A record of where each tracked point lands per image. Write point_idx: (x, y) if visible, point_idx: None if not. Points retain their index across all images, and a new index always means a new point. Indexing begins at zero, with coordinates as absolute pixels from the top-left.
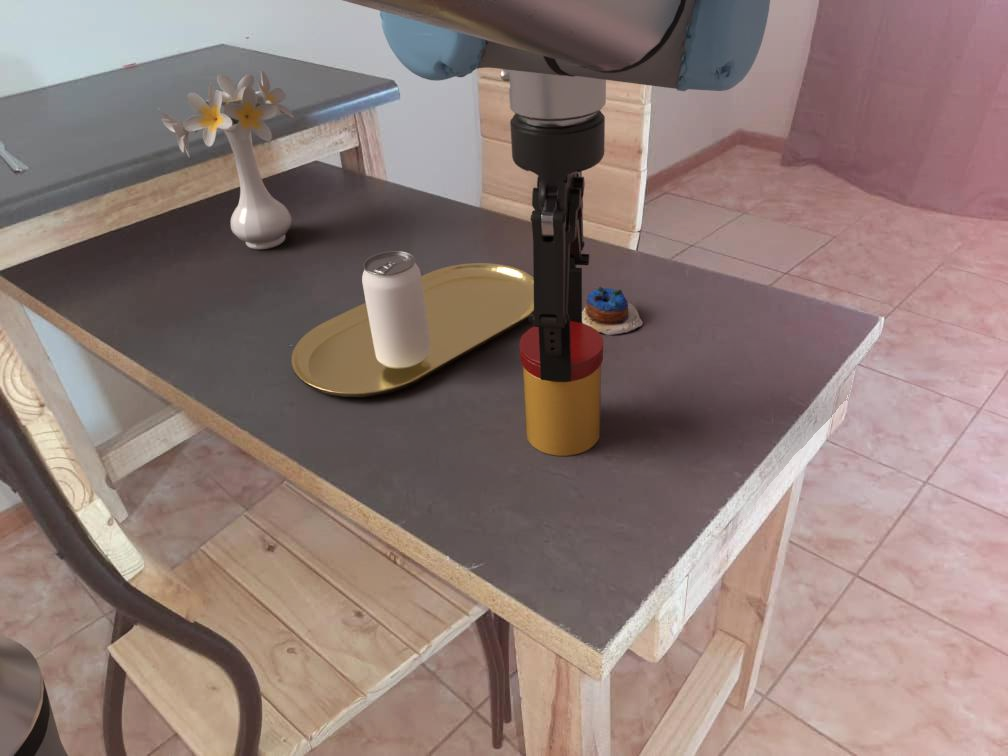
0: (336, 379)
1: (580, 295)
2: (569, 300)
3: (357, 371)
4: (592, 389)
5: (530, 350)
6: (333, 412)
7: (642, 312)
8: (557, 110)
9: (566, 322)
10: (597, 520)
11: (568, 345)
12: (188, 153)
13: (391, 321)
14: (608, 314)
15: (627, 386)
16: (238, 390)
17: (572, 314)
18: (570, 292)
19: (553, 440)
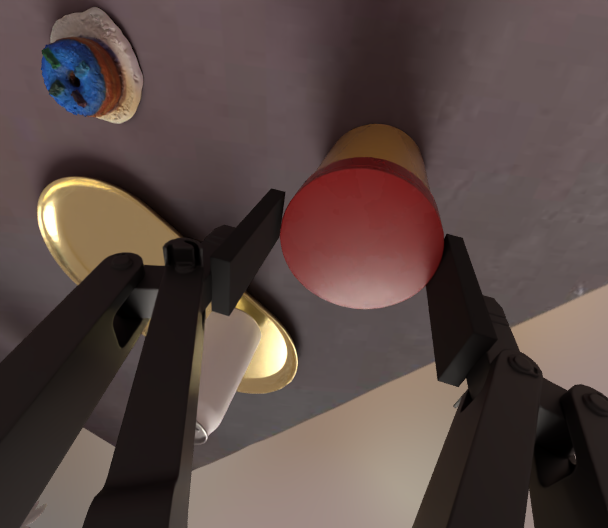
0: (267, 364)
1: (257, 228)
2: (261, 243)
3: (255, 350)
4: (418, 171)
5: (374, 297)
6: (310, 366)
7: (63, 3)
8: None
9: (521, 354)
10: (574, 151)
11: (478, 289)
12: (43, 509)
13: (239, 379)
14: (109, 80)
15: (272, 62)
16: (279, 410)
17: (272, 221)
18: (253, 251)
19: None
